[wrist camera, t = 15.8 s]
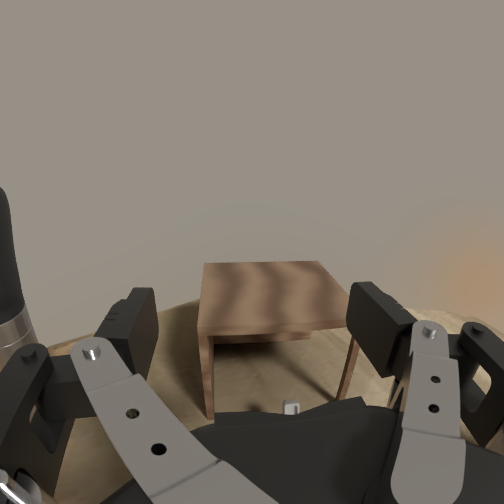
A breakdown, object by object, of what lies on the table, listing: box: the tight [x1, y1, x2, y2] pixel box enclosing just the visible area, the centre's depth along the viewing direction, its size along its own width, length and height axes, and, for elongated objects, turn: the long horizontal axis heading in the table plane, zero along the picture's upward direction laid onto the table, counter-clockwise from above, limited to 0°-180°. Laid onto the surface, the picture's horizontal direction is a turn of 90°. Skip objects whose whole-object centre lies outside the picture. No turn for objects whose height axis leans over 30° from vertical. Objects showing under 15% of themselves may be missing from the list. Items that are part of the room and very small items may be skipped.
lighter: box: [283, 399, 300, 415], centre depth 29 cm, size 7×2×8 cm, turn 4°
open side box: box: [197, 261, 360, 419], centre depth 44 cm, size 20×20×16 cm
